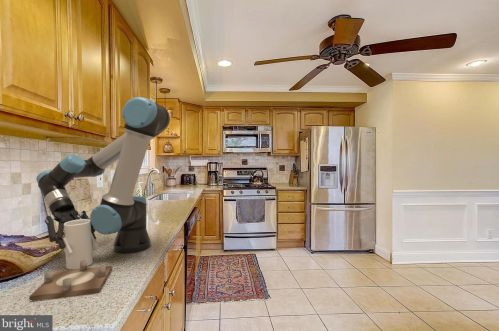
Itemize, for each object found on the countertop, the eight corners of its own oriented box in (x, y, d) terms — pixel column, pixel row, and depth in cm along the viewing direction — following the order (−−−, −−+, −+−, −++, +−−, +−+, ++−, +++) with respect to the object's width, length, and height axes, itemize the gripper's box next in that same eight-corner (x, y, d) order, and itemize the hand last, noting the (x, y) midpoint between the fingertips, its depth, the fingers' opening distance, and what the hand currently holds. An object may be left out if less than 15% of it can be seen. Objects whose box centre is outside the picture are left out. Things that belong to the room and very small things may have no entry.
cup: (88, 258, 103) (86, 217, 102) (96, 263, 97) (93, 221, 97) (63, 265, 97) (60, 222, 96) (70, 271, 91) (67, 226, 90)
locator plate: (111, 269, 92) (111, 257, 92) (99, 292, 76) (99, 277, 76) (55, 275, 88) (55, 262, 88) (29, 301, 71) (29, 285, 71)
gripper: (84, 206, 113) (106, 249, 106) (23, 214, 95) (45, 266, 87) (91, 194, 111) (114, 237, 103) (30, 200, 92) (54, 253, 85)
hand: (83, 251), depth 95 cm, fingers closed on cup, 8 cm apart
